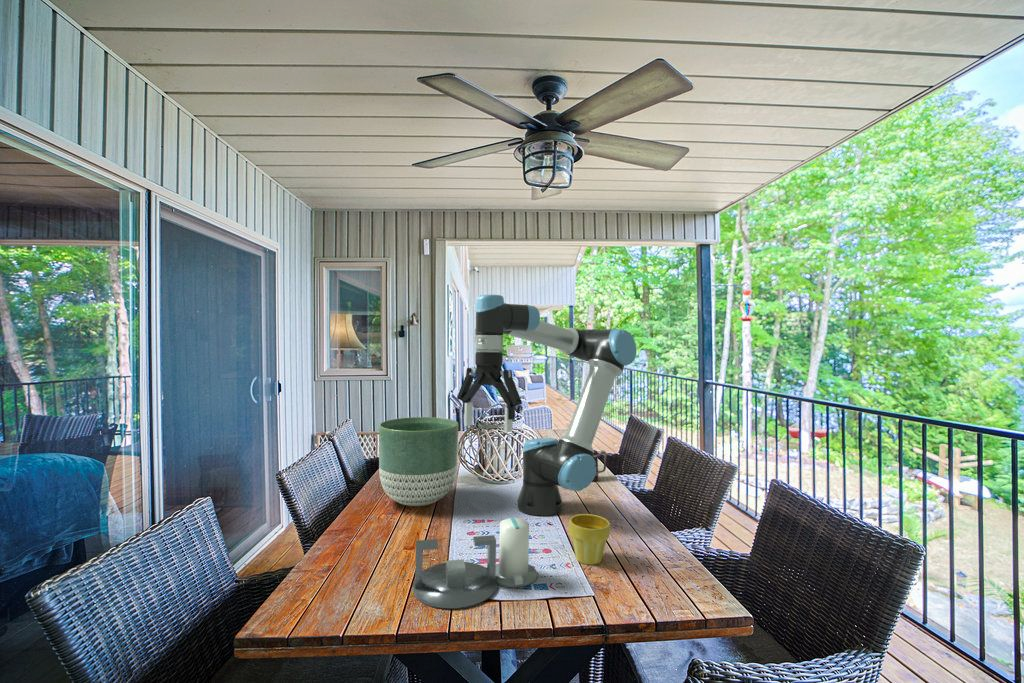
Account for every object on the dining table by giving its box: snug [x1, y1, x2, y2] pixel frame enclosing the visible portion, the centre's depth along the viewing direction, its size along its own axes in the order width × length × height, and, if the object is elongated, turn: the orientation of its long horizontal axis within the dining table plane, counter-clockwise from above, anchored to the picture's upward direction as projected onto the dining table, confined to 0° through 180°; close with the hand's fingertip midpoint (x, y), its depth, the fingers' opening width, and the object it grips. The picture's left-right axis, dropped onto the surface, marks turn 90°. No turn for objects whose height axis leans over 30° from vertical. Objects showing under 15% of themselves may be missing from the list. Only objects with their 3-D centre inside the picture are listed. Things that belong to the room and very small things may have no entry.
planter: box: [378, 416, 459, 507], centre depth 158 cm, size 27×27×27 cm
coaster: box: [495, 563, 538, 589], centre depth 110 cm, size 11×11×1 cm
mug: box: [591, 449, 607, 483], centre depth 187 cm, size 10×7×12 cm
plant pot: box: [568, 513, 611, 566], centre depth 119 cm, size 10×10×10 cm
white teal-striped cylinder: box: [498, 517, 530, 585], centre depth 110 cm, size 12×7×12 cm, turn 12°
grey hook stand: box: [412, 534, 498, 610], centre depth 105 cm, size 19×19×10 cm
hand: (487, 428), depth 127 cm, fingers open, 13 cm apart
